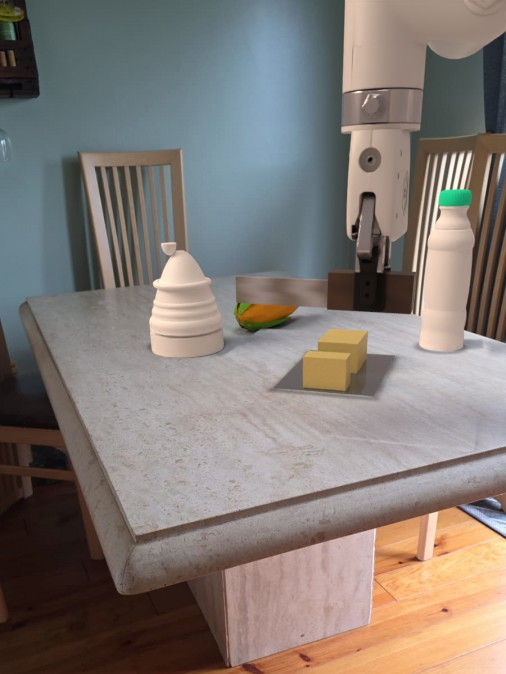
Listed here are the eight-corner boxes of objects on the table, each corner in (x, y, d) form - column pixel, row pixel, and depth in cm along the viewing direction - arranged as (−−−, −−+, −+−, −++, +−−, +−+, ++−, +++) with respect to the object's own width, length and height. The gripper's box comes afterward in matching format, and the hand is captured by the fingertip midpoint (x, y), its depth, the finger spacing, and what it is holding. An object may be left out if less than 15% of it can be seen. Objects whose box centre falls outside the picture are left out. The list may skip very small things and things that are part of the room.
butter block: (366, 358, 98) (368, 330, 96) (357, 373, 91) (358, 343, 89) (329, 356, 100) (330, 328, 98) (317, 370, 93) (317, 341, 91)
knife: (413, 309, 67) (417, 271, 65) (410, 314, 65) (414, 275, 63) (240, 300, 73) (239, 265, 72) (232, 304, 71) (231, 268, 70)
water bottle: (439, 343, 109) (454, 188, 99) (471, 351, 103) (490, 188, 93) (409, 349, 106) (421, 190, 95) (441, 358, 100) (457, 191, 90)
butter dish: (394, 361, 100) (395, 355, 99) (373, 403, 83) (374, 396, 82) (309, 355, 104) (310, 350, 104) (273, 394, 87) (273, 387, 87)
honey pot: (161, 361, 104) (150, 249, 96) (144, 344, 115) (133, 241, 107) (234, 351, 108) (229, 243, 100) (211, 335, 119) (205, 236, 111)
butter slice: (350, 384, 87) (351, 353, 85) (345, 391, 84) (346, 359, 82) (308, 381, 89) (308, 350, 87) (302, 387, 86) (302, 356, 84)
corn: (223, 292, 117) (285, 276, 131) (223, 331, 121) (284, 312, 135) (253, 298, 113) (314, 282, 127) (252, 339, 117) (312, 318, 131)
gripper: (410, 106, 51) (395, 327, 59) (429, 118, 65) (415, 295, 73) (322, 112, 54) (318, 322, 62) (358, 121, 68) (352, 293, 75)
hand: (371, 306), depth 67 cm, fingers closed on knife, 2 cm apart
